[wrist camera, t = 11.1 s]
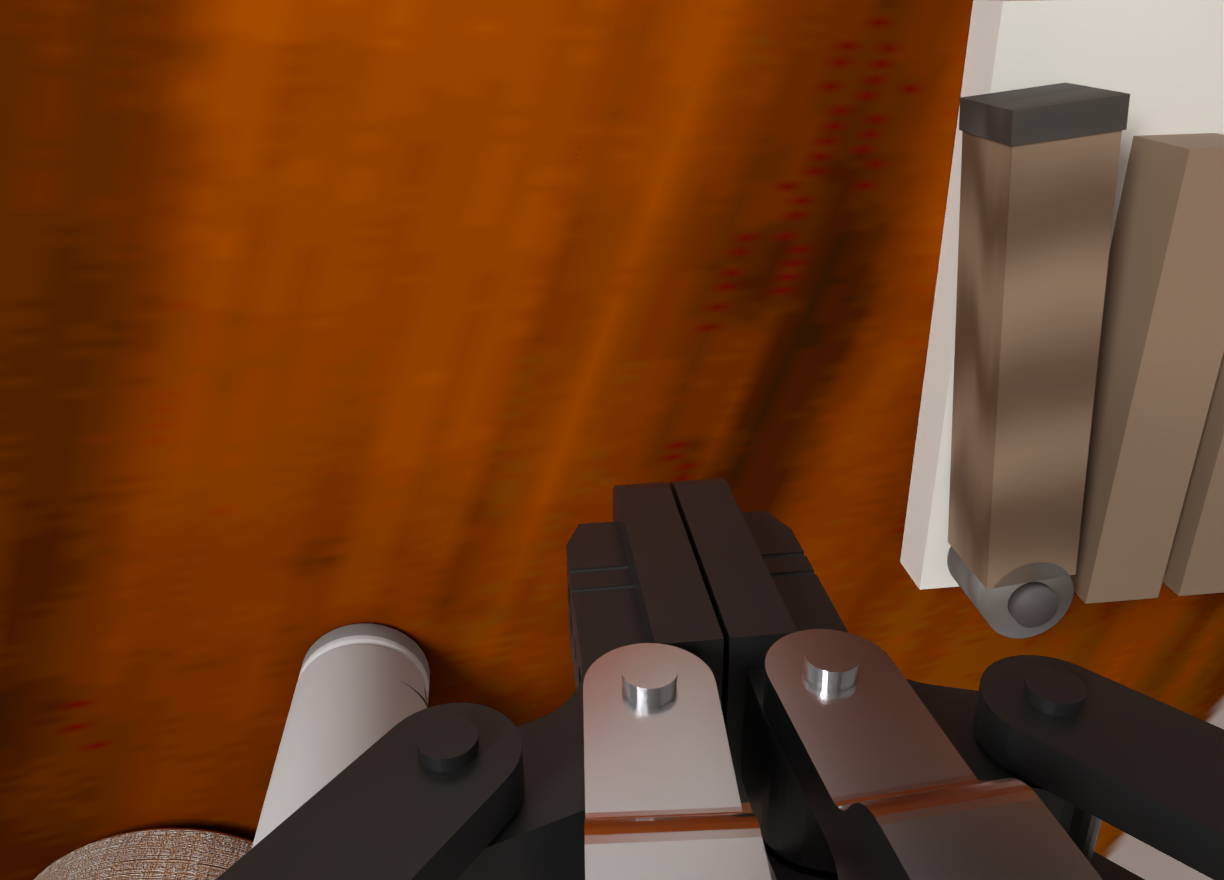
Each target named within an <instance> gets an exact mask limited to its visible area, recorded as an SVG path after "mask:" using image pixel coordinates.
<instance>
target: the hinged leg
mask: <svg viewBox="0 0 1224 880" xmlns="http://www.w3.org/2000/svg"><path fill="white" fill-rule="evenodd" d="M1129 101H1130V94H1129V93H1123V92H1117V91H1111V90H1106V89H1100V88H1094V87H1089V86H1083V85H1077V84H1071V83H1059V84H1052V85H1045V86H1038V87H1031V88H1024V89H1017V90H1010V91H1003V92H996V93H989V94H982V95H975V96H968V97H961V98H960V112H959V130H961V131H962V158H961V186H960V214H959V243H958V271H957V299H956V327H955V355H954V383H953V411H952V439H951V467H950V495H949V523H948V543H949V544H950V545H951V546H950V549H949V552H948V557H947V565H948V569H949V572H950V574H951V576H952V577H953V578H954V580H955V581H956V582H957V584H958V585H959V586H960V587H961V589H962V590H963V591H964V593H965V594H966V595H967V596H968V598H969V599H970V600H971V602H972V603H973V604H974V605H975V607H976V608H977V609H978V611H979V612H980V613H981V614H982V616H983V617H984V618H985V620H986V621H987V622H988V623H989V625H990V626H991V627H992V628H993V629H994V630H995V631H996V632H997V633H999V634H1001V635H1003V636H1006V637H1010V638H1027V637H1032V636H1035V635H1038V634H1040V633H1042V632H1044V631H1046V630H1048V629H1050V628H1051V627H1052V626H1054V625H1055V624H1056V623H1057V622H1058V621H1059V620H1060V619H1061V618H1062V617H1063V616H1064V615H1065V613H1066V612H1067V610H1068V609H1069V607H1070V605H1071V602H1072V599H1073V594H1074V587H1073V582H1072V579H1071V577H1070V575H1076V565H1077V556H1078V546H1079V537H1080V527H1081V518H1082V508H1083V498H1084V489H1085V479H1086V470H1087V460H1088V451H1089V441H1090V431H1091V422H1092V412H1093V403H1094V393H1095V384H1096V374H1097V364H1098V355H1099V345H1100V336H1101V326H1102V316H1103V307H1104V297H1105V288H1106V278H1107V269H1108V259H1109V249H1110V240H1111V230H1112V221H1113V211H1114V202H1115V192H1116V182H1117V173H1118V163H1119V154H1120V144H1121V135H1122V130H1126V129H1127V119H1128V110H1129Z"/></svg>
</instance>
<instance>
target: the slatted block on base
mask: <svg viewBox="0 0 1224 880" xmlns="http://www.w3.org/2000/svg"><path fill="white" fill-rule="evenodd" d="M1059 83H1071V84H1077V85H1083V86H1089V87H1094V88H1100V89H1106V90H1111V91H1117V92H1123V93H1129V94H1130V101H1129V110H1128V119H1127V129H1126V130H1122V135H1121V144H1120V154H1119V163H1118V173H1117V182H1116V192H1115V202H1114V211H1113V221H1112V230H1111V240H1110V249H1109V259H1108V269H1107V278H1106V288H1105V297H1104V307H1103V316H1102V326H1101V336H1100V345H1099V355H1098V364H1097V374H1096V384H1095V393H1094V403H1093V412H1092V422H1091V431H1090V441H1089V451H1088V460H1087V470H1086V479H1085V489H1084V498H1083V508H1082V518H1081V527H1080V537H1079V546H1078V556H1077V565H1076V575H1070V577H1071V579H1072V582H1073V587H1074V592H1075V593H1076V594H1077V595H1078V596H1079V597H1080V599H1081V600H1082V601H1083V602H1084V603H1085V604H1088V603H1100V602H1113V601H1125V600H1137V599H1149V598H1158V596H1159V592H1160V588H1161V585H1162V582H1163V583H1164V584H1165V585H1167V586H1168V587H1169V588H1170V589H1171V590H1172V591H1173V592H1174V593H1176V594H1177V595H1178V596H1186V595H1198V594H1210V593H1222V592H1224V0H973V6H972V13H971V21H970V29H969V36H968V44H967V52H966V59H965V67H964V75H963V82H962V90H961V97H968V96H975V95H982V94H989V93H996V92H1003V91H1010V90H1017V89H1024V88H1031V87H1038V86H1045V85H1052V84H1059ZM959 112H960V106H959ZM961 158H962V131H961V130H959V113H958V121H957V129H956V136H955V144H954V152H953V159H952V167H951V175H950V182H949V190H948V198H947V206H946V213H945V221H944V229H943V236H942V244H941V252H940V259H939V267H938V275H937V282H936V290H935V298H934V306H933V313H932V321H931V329H930V336H929V344H928V352H927V359H926V367H925V375H924V382H923V390H922V398H921V406H920V413H919V421H918V429H917V436H916V444H915V452H914V459H913V467H912V475H911V482H910V490H909V498H908V506H907V513H906V521H905V529H904V536H903V544H902V552H901V559H900V562H901V564H902V565H903V567H904V568H905V569H906V571H907V572H908V574H909V575H910V577H911V578H912V579H913V581H914V582H915V584H916V585H917V586H918V588H919V589H933V588H945V587H958V586H959V585H958V584H957V582H956V581H955V580H954V578H953V577H952V576H951V574H950V572H949V569H948V565H947V557H948V552H949V549H950V546H951V545H950V544H949V543H948V523H949V495H950V467H951V439H952V411H953V383H954V355H955V327H956V299H957V271H958V243H959V214H960V186H961Z"/></svg>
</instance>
